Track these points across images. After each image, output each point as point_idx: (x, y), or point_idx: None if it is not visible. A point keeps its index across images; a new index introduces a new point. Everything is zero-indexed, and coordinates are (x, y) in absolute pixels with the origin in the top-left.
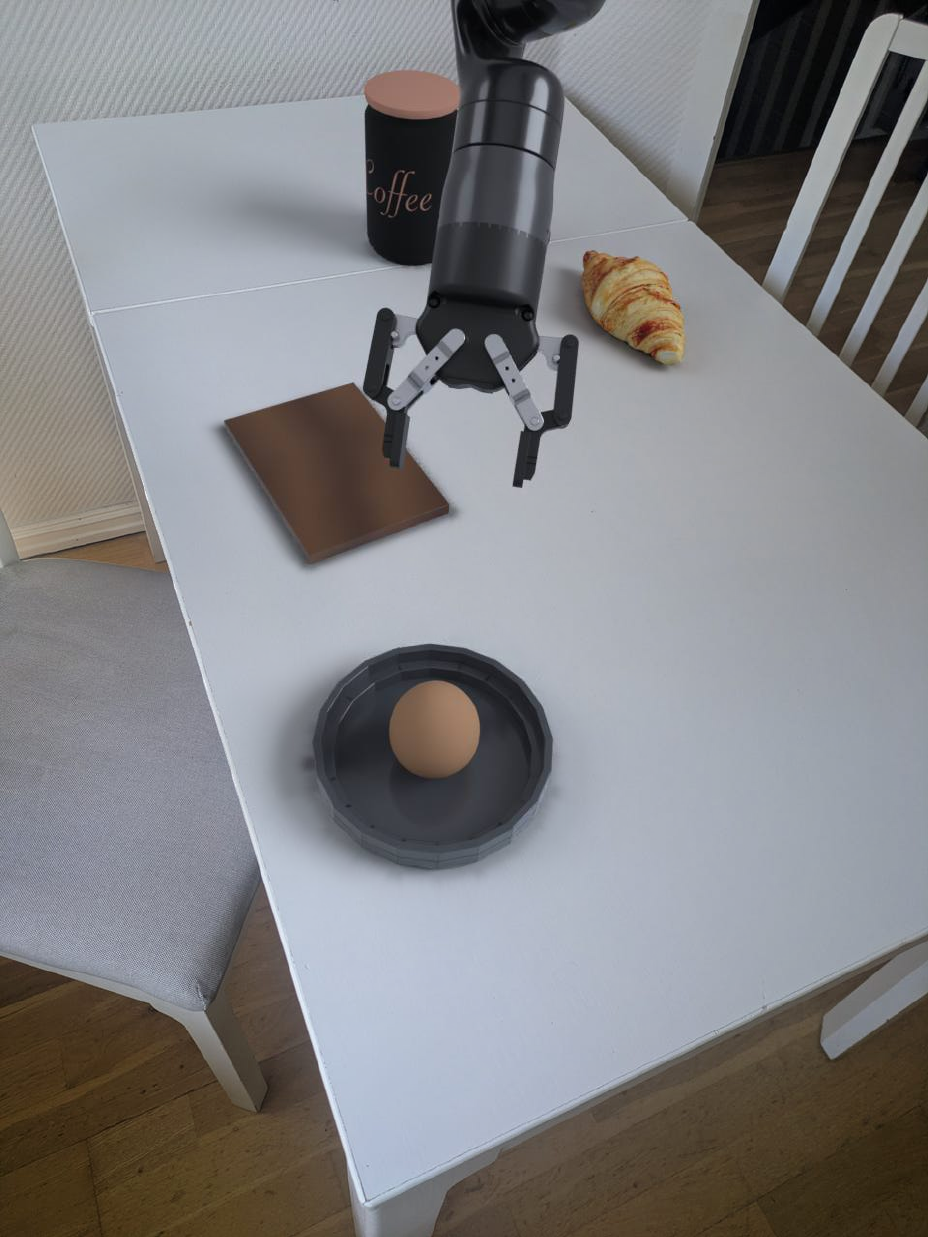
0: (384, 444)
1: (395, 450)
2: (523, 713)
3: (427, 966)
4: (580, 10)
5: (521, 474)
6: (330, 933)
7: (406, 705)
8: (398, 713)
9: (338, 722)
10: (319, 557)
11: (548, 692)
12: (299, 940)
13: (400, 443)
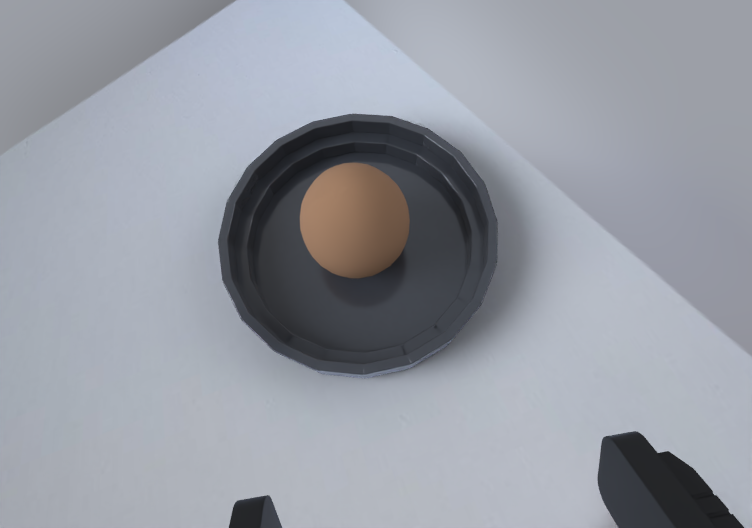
0: (699, 485)
1: (651, 466)
2: (269, 319)
3: (303, 79)
4: None
5: (237, 523)
6: (388, 76)
7: (386, 183)
8: (395, 187)
9: (472, 232)
10: None
11: (252, 384)
12: (410, 64)
13: (654, 489)
